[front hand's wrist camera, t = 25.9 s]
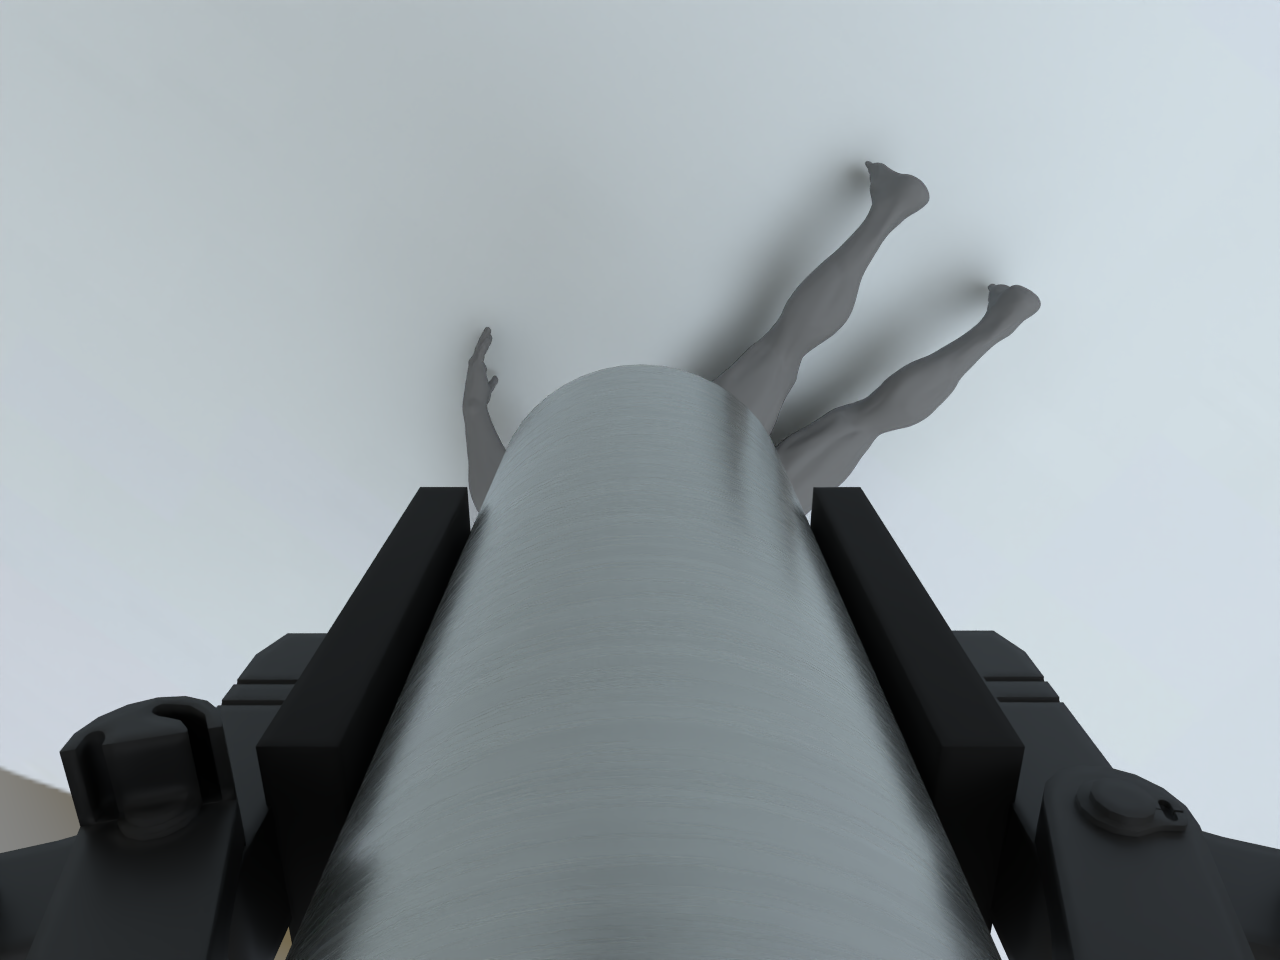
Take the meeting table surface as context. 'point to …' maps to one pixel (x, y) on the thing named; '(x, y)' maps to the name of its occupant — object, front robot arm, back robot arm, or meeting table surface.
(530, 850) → the tin
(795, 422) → the meeting table surface
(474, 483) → the figurine
